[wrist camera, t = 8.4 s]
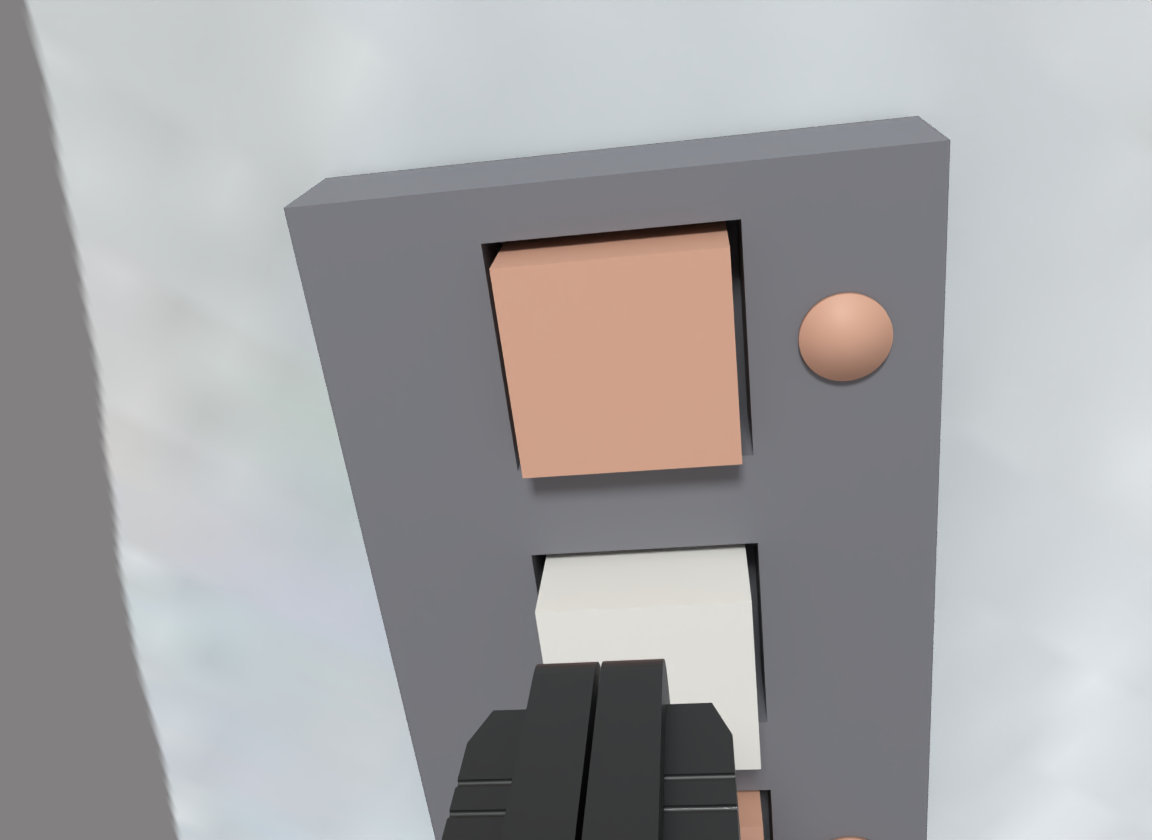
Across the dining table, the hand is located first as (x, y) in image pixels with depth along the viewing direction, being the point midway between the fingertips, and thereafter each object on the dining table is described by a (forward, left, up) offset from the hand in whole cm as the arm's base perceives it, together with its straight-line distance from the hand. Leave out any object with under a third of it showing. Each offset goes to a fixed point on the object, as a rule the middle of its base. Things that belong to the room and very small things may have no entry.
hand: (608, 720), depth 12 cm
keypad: (0, +8, -15) cm, 17 cm away
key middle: (0, +8, -13) cm, 15 cm away
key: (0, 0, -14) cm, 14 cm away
